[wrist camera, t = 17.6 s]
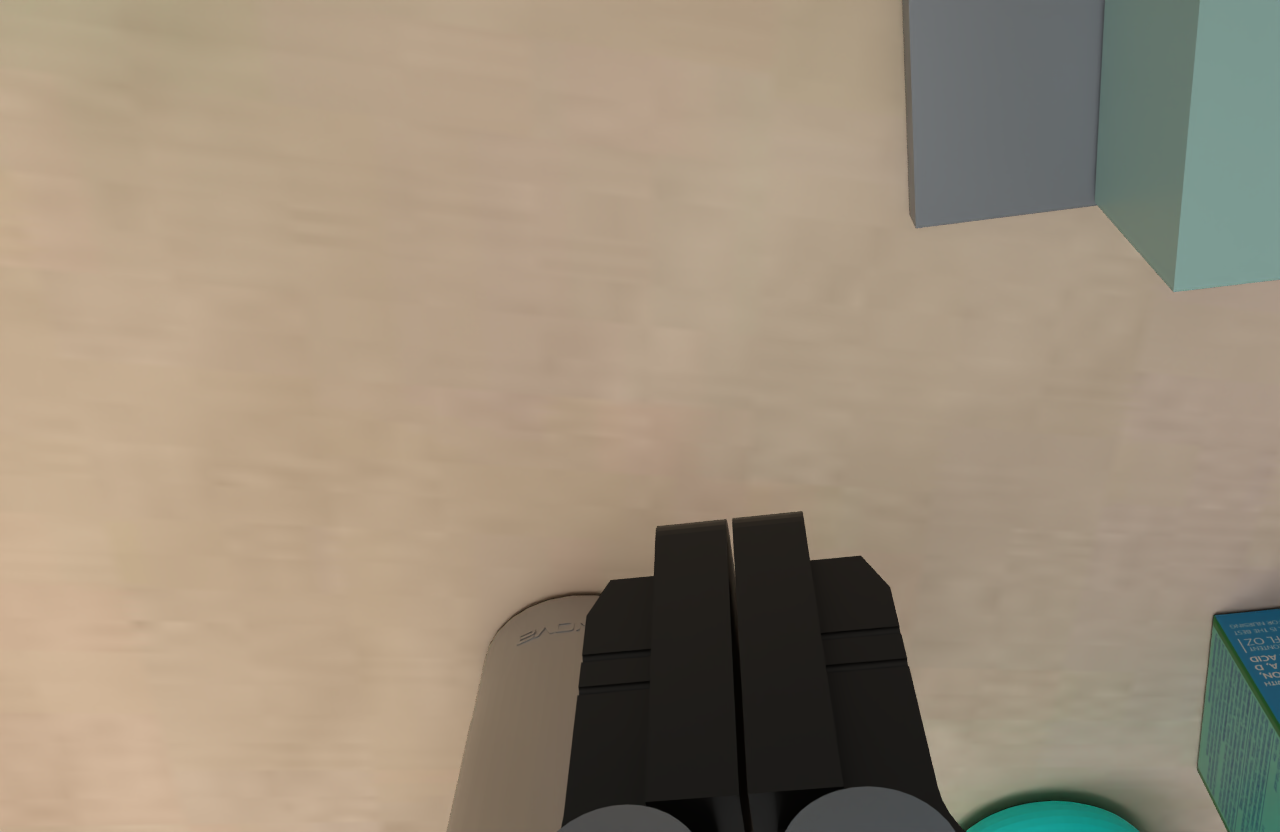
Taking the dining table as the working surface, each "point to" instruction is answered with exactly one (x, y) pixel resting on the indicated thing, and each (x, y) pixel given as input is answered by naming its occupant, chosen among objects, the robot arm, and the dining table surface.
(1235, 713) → the milk carton
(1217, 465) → the dining table surface
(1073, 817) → the donuts
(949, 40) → the rail
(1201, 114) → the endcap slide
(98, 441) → the dining table surface
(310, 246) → the dining table surface
